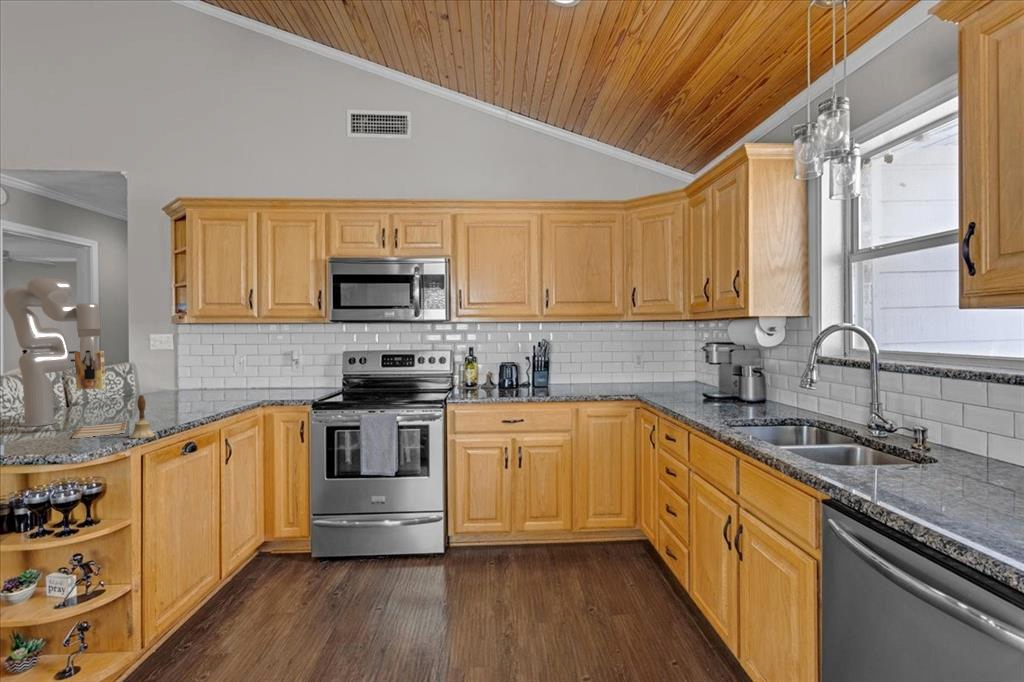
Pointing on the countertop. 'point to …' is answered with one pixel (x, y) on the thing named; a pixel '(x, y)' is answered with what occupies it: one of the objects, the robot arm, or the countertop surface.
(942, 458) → the countertop surface
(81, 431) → the board
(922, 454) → the countertop surface
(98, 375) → the candy box
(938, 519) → the countertop surface
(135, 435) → the hand bell
